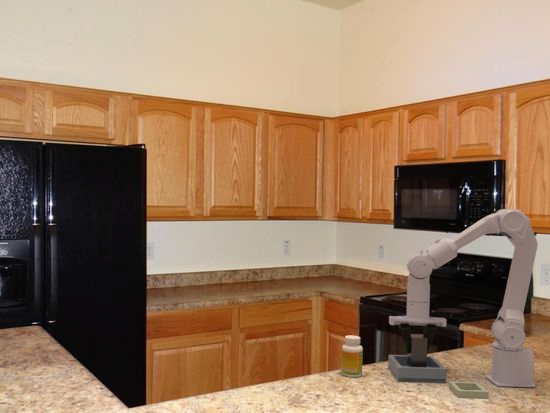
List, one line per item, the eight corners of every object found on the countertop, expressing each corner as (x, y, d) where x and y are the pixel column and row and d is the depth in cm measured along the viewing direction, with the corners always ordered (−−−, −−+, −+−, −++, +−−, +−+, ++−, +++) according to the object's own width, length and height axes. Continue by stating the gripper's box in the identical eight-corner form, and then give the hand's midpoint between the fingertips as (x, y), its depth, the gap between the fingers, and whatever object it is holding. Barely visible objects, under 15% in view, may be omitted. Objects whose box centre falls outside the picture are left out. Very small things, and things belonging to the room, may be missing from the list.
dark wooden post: (422, 364, 145) (423, 334, 145) (426, 369, 141) (427, 338, 141) (407, 364, 145) (408, 333, 145) (410, 368, 141) (411, 337, 141)
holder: (477, 388, 134) (477, 382, 134) (488, 398, 127) (488, 391, 127) (448, 387, 134) (448, 381, 134) (458, 397, 127) (458, 391, 127)
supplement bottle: (361, 378, 140) (362, 340, 140) (340, 376, 141) (341, 338, 141) (362, 372, 145) (363, 335, 145) (342, 370, 146) (343, 333, 146)
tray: (432, 368, 150) (432, 356, 150) (446, 383, 138) (446, 369, 138) (388, 367, 150) (388, 354, 150) (398, 381, 138) (398, 367, 138)
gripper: (441, 299, 148) (439, 349, 148) (387, 297, 148) (385, 348, 148) (449, 303, 141) (448, 356, 141) (393, 302, 141) (391, 355, 141)
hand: (416, 353), depth 144 cm, fingers closed on dark wooden post, 4 cm apart
